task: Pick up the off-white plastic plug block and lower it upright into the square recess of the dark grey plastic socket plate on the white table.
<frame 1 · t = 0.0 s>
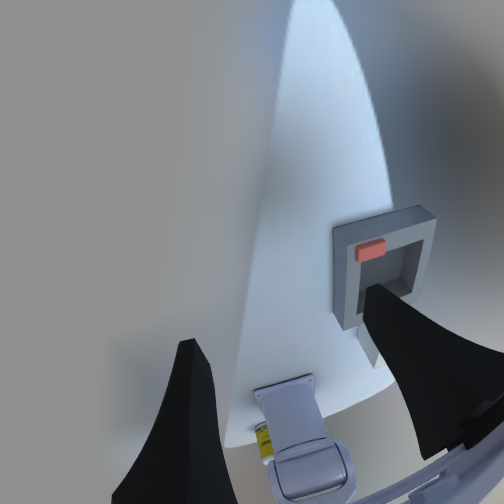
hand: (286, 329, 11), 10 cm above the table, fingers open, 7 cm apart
plug: (374, 318, 30), on the table
supplement bottle: (269, 424, 43), on the table
socket plate: (376, 262, 24), on the table
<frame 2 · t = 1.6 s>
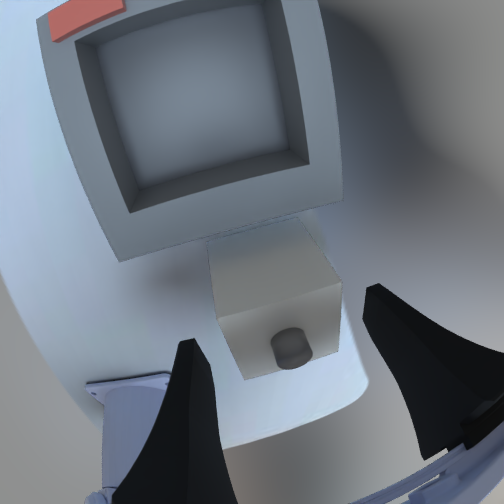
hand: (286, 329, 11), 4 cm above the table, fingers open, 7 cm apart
plug: (260, 264, 15), on the table
socket plate: (194, 91, 9), on the table
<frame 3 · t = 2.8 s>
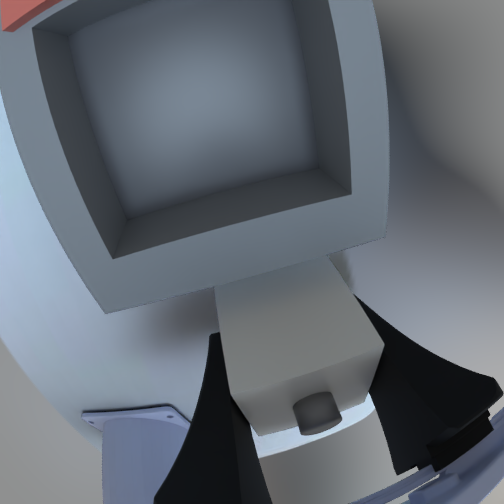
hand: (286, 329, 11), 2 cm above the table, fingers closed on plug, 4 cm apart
plug: (276, 302, 12), on the table, touching gripper
socket plate: (196, 90, 7), on the table
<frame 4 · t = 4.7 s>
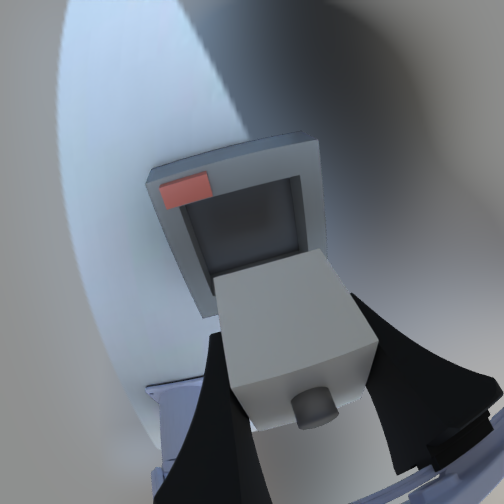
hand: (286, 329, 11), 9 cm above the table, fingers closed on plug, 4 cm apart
plug: (275, 301, 13), point 7 cm above the table, touching gripper
socket plate: (244, 220, 18), on the table
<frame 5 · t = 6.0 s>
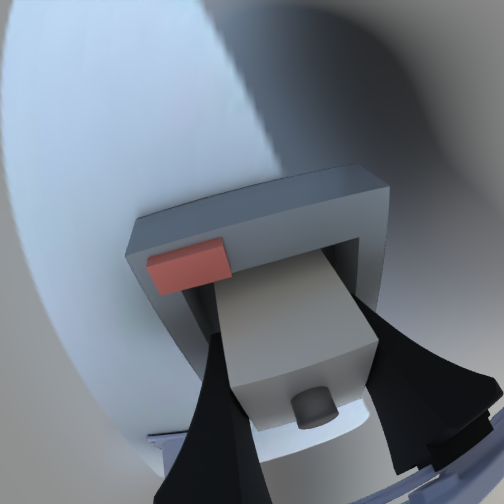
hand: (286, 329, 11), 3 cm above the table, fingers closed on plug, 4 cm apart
plug: (274, 300, 13), point 1 cm above the table, touching gripper
socket plate: (269, 283, 13), on the table
when the fingers open (3 cm above the table, at t = 6.7 s): plug stays where it is, resting on socket plate.
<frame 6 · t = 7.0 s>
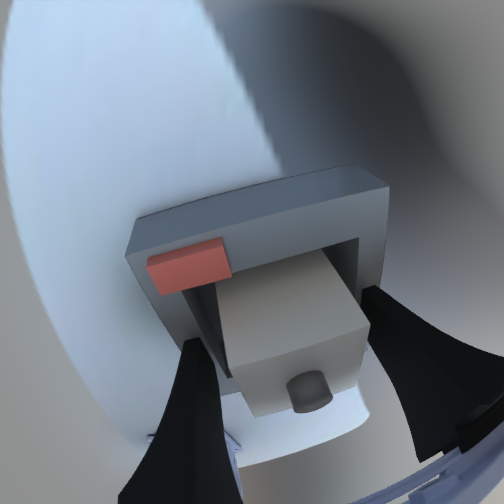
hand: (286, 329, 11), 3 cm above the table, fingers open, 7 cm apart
plug: (271, 290, 13), resting on socket plate
socket plate: (269, 283, 13), on the table
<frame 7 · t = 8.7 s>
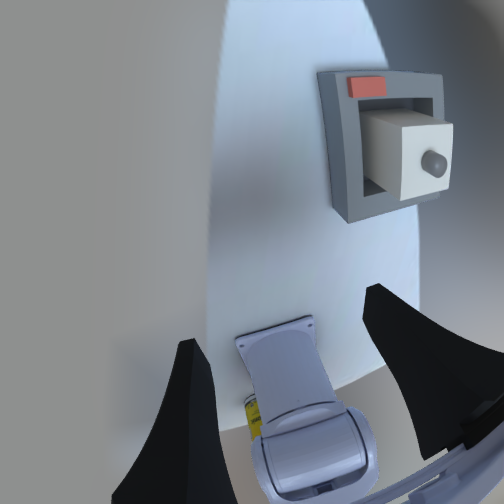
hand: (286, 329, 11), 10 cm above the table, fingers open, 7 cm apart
plug: (383, 139, 18), resting on socket plate
supplement bottle: (262, 397, 36), on the table
socket plate: (380, 135, 18), on the table
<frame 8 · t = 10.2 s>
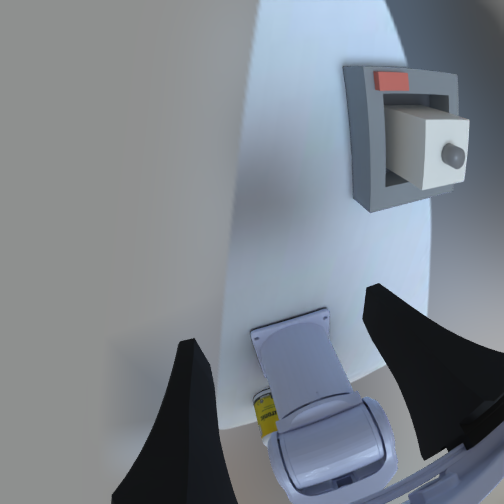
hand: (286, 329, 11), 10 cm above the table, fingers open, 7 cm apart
plug: (402, 133, 18), resting on socket plate
supplement bottle: (270, 394, 36), on the table
socket plate: (399, 129, 18), on the table
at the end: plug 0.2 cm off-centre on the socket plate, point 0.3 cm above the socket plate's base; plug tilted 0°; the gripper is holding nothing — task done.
